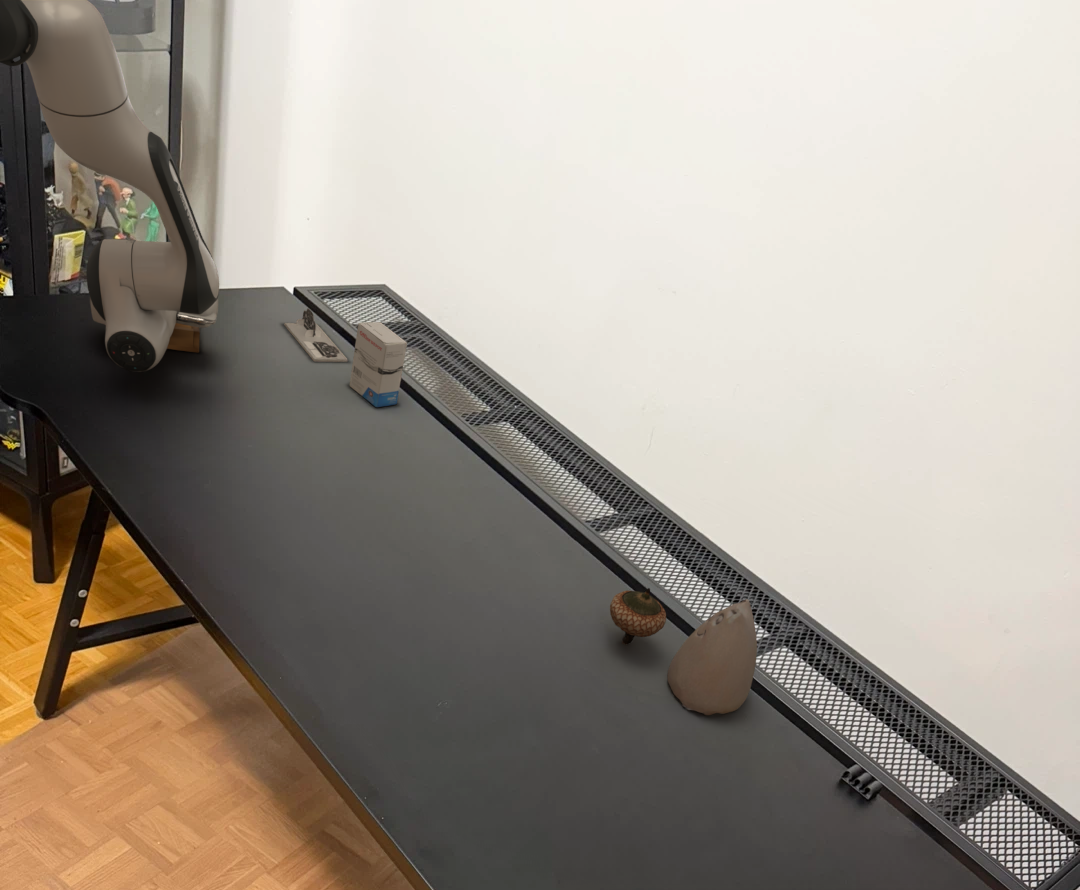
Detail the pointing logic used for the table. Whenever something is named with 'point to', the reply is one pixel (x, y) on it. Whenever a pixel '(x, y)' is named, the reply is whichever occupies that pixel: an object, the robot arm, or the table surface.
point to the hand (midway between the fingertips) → (160, 281)
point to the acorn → (637, 614)
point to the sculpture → (716, 662)
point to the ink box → (377, 364)
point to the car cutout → (315, 340)
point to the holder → (184, 338)
